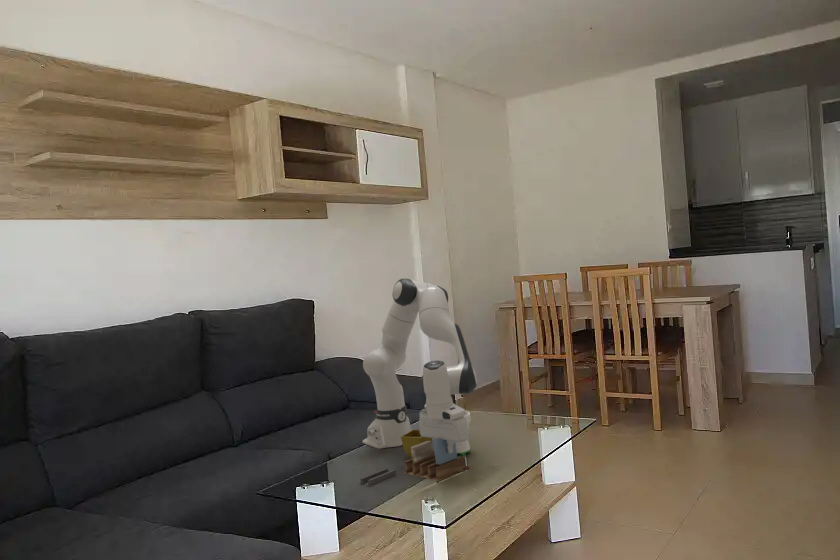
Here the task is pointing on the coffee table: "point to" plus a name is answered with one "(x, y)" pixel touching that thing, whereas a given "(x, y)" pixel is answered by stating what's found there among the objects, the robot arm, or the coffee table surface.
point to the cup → (464, 446)
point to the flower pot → (412, 440)
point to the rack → (432, 463)
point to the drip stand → (378, 477)
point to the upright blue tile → (443, 451)
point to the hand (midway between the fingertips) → (446, 452)
